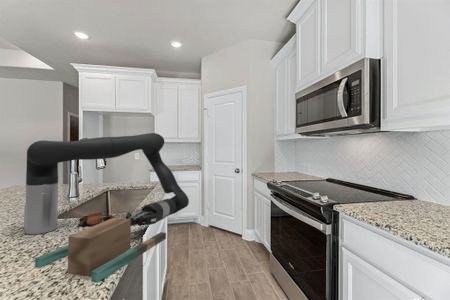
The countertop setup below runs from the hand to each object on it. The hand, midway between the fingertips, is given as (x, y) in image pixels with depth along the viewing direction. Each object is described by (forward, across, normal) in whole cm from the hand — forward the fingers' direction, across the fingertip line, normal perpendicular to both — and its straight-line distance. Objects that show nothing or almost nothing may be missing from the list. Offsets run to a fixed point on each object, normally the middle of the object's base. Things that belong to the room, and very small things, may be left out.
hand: (122, 225), depth 71 cm
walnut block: (+10, +2, +6) cm, 12 cm away
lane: (+5, 0, +6) cm, 8 cm away
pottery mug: (-5, -16, +6) cm, 18 cm away
